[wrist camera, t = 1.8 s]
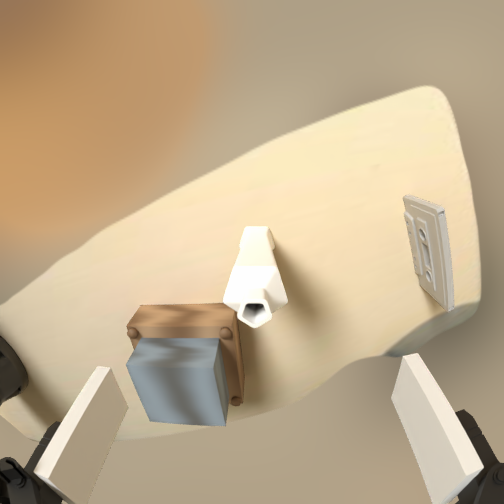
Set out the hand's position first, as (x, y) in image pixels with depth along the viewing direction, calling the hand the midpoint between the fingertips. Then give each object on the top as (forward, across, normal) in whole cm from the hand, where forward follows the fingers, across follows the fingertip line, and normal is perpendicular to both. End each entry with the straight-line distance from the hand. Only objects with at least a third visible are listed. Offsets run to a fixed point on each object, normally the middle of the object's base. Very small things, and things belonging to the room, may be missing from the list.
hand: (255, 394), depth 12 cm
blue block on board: (+22, +9, +13) cm, 27 cm away
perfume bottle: (+22, 0, 0) cm, 22 cm away
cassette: (+22, -19, +1) cm, 29 cm away
